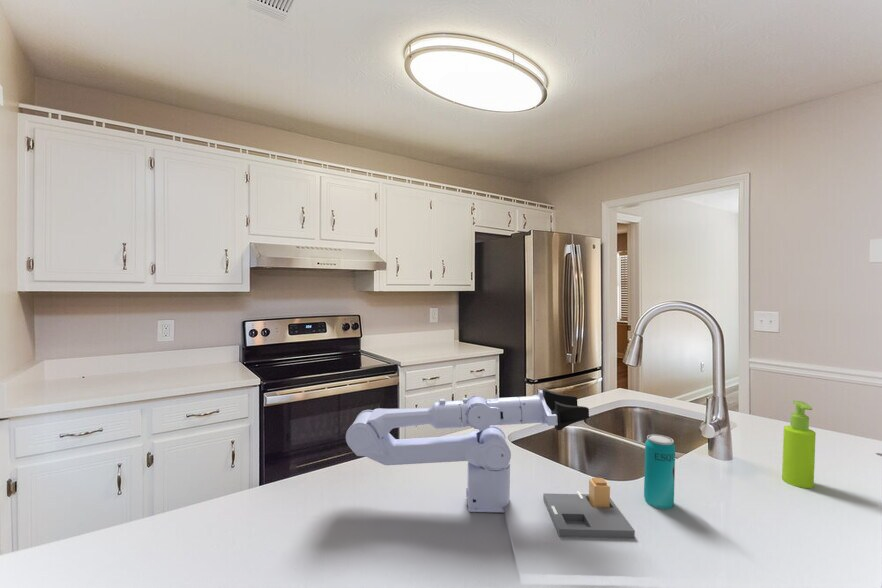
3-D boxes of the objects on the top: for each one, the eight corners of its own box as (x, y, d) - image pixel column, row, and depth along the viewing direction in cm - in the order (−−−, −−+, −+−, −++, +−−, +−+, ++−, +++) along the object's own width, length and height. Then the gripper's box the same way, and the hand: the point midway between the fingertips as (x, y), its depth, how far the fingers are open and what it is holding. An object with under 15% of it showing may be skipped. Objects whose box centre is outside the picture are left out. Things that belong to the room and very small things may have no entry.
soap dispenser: (789, 487, 98) (792, 404, 98) (778, 475, 105) (780, 397, 104) (820, 492, 96) (823, 407, 96) (807, 479, 103) (810, 400, 102)
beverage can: (677, 515, 86) (679, 444, 86) (648, 512, 87) (649, 442, 87) (668, 501, 92) (670, 434, 91) (640, 498, 93) (642, 432, 92)
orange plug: (593, 512, 85) (594, 483, 85) (588, 504, 88) (589, 476, 88) (609, 512, 85) (610, 484, 85) (603, 504, 88) (604, 476, 88)
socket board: (559, 541, 77) (559, 528, 77) (542, 501, 91) (542, 490, 91) (634, 543, 77) (634, 530, 77) (605, 502, 91) (605, 491, 91)
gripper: (524, 402, 82) (593, 398, 82) (513, 383, 96) (571, 380, 96) (526, 437, 82) (594, 433, 82) (515, 413, 97) (573, 409, 96)
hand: (582, 406), depth 89 cm, fingers open, 7 cm apart
